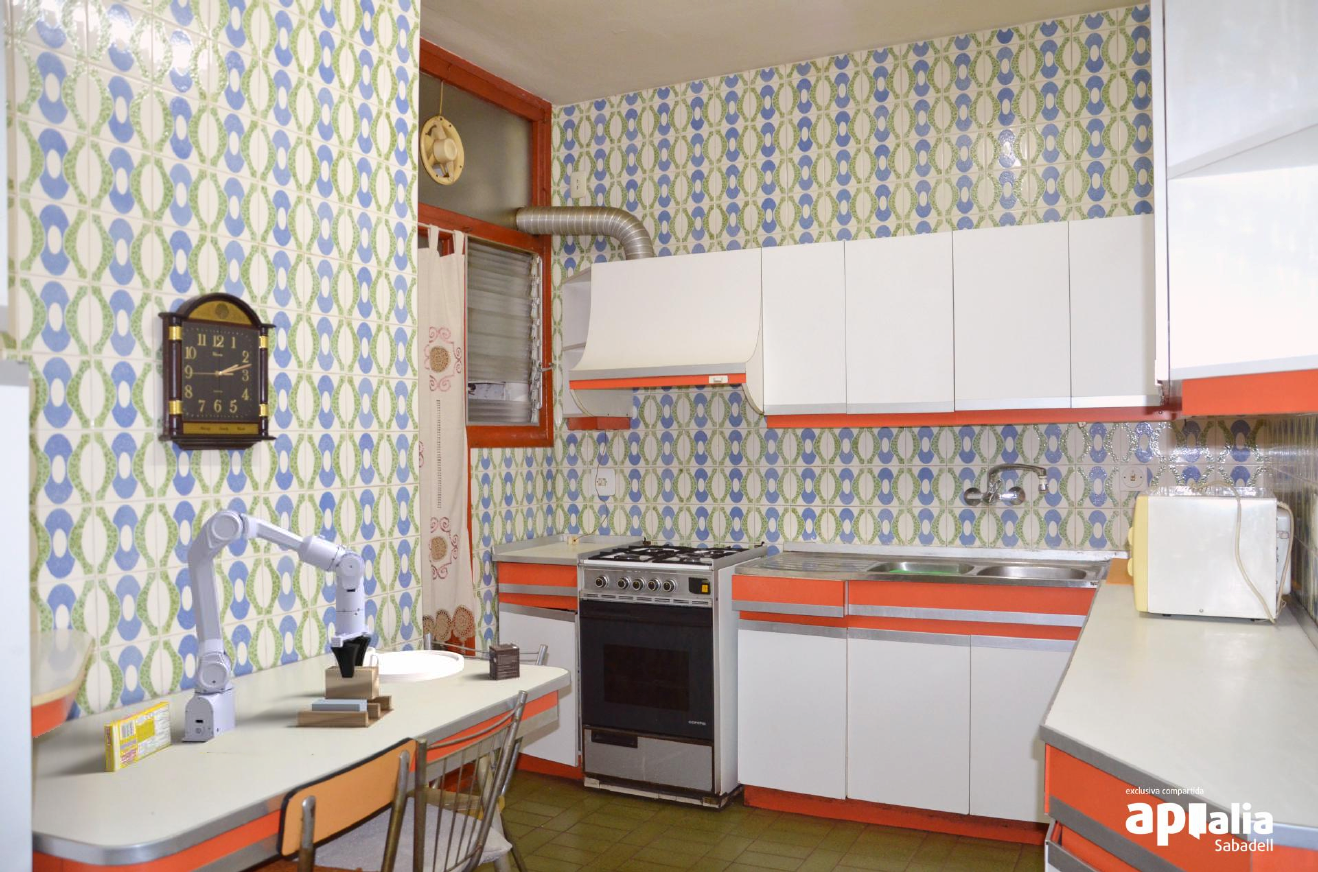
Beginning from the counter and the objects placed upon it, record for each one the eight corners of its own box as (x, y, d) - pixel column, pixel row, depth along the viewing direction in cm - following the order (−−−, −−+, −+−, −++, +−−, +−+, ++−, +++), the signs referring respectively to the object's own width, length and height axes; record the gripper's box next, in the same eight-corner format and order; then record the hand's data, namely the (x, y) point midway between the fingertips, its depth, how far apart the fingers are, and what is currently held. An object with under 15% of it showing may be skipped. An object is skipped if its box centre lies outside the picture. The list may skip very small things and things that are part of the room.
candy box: (162, 744, 194) (161, 701, 194) (172, 744, 194) (171, 701, 194) (104, 771, 178) (103, 724, 178) (115, 772, 178) (114, 724, 178)
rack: (367, 732, 199) (367, 712, 199) (294, 731, 200) (294, 712, 200) (394, 713, 213) (394, 695, 213) (326, 712, 214) (325, 694, 214)
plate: (332, 685, 241) (331, 674, 241) (370, 660, 269) (369, 650, 269) (448, 683, 240) (448, 673, 240) (474, 658, 268) (474, 649, 268)
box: (489, 675, 246) (488, 645, 246) (513, 672, 249) (512, 642, 249) (496, 680, 241) (495, 649, 241) (520, 677, 243) (519, 647, 243)
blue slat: (360, 724, 201) (359, 703, 201) (311, 723, 202) (311, 703, 202) (367, 719, 205) (366, 699, 205) (319, 718, 206) (319, 699, 206)
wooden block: (372, 699, 207) (372, 670, 207) (325, 698, 209) (325, 669, 209) (379, 695, 211) (378, 666, 211) (332, 694, 212) (332, 665, 212)
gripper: (354, 615, 202) (355, 683, 202) (382, 603, 217) (383, 667, 216) (320, 615, 203) (322, 683, 203) (350, 603, 217) (352, 667, 217)
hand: (351, 675), depth 210 cm, fingers closed on wooden block, 3 cm apart
